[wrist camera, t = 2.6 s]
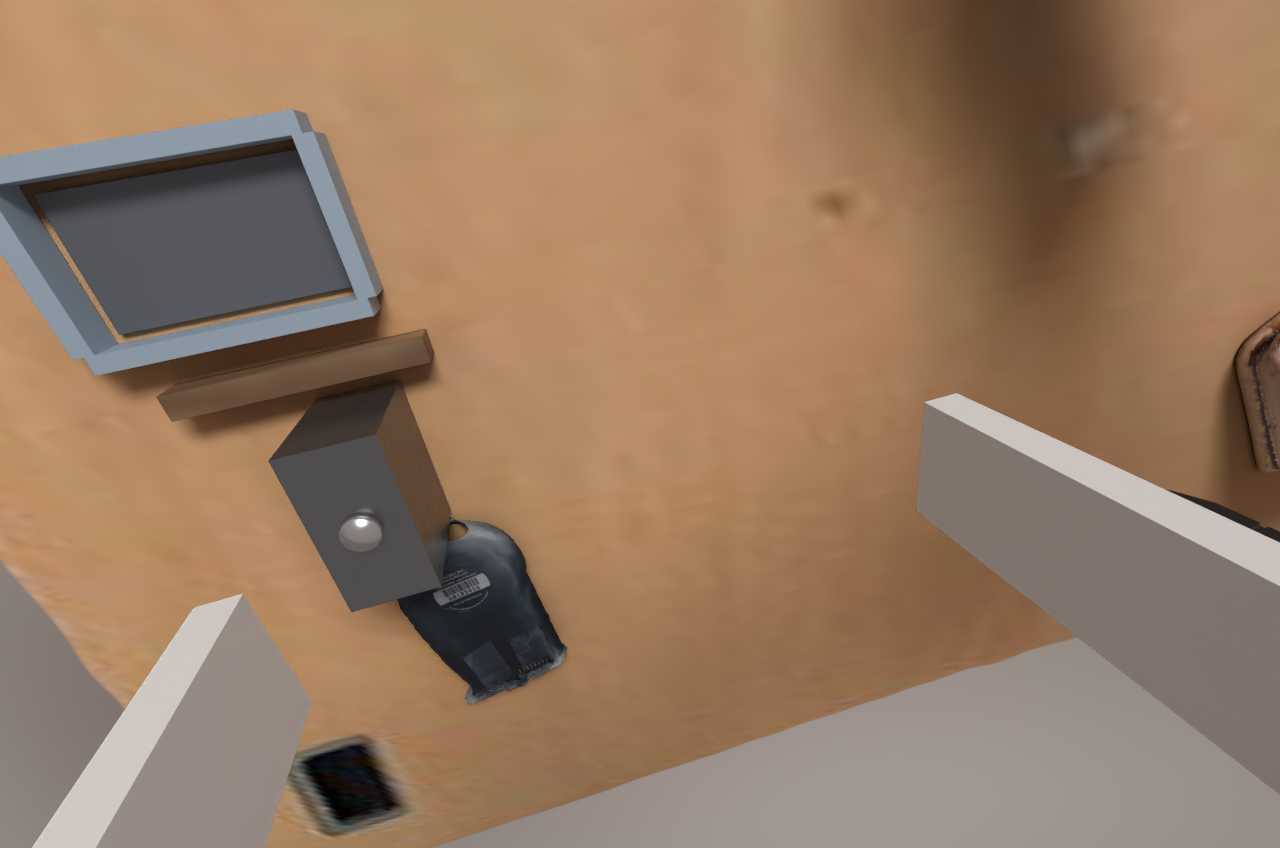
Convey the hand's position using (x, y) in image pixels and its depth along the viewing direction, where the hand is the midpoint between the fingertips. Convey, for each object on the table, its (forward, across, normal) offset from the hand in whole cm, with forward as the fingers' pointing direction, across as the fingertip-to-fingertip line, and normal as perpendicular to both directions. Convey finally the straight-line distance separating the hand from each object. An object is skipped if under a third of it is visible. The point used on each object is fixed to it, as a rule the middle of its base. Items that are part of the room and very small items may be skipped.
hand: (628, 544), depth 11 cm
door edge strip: (+26, -14, -2) cm, 30 cm away
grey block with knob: (+26, -12, -8) cm, 30 cm away
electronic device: (+27, -9, -22) cm, 36 cm away
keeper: (+26, -16, +6) cm, 31 cm away
